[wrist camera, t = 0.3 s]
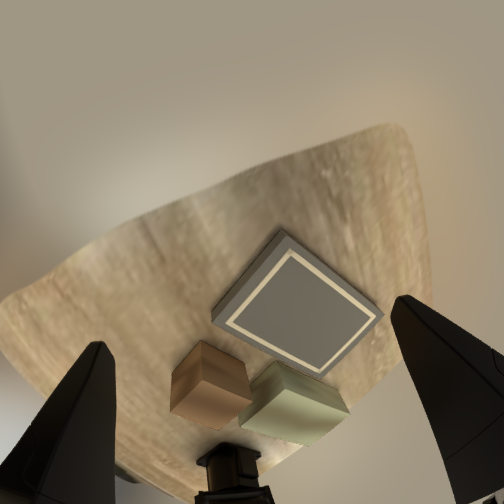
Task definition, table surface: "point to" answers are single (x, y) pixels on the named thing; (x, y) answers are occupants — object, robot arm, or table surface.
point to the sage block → (292, 406)
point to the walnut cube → (209, 387)
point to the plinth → (296, 308)
